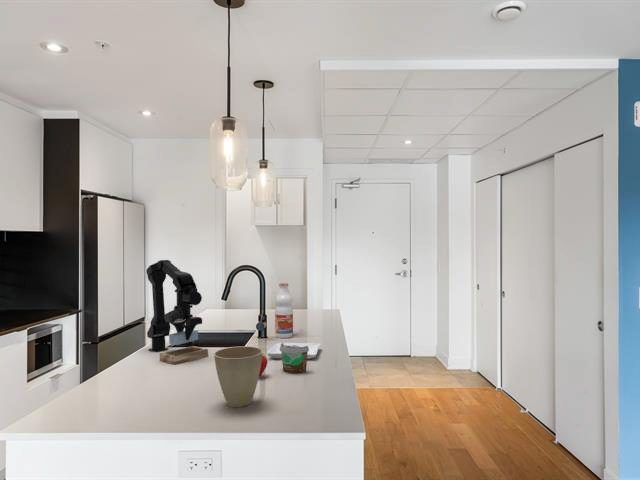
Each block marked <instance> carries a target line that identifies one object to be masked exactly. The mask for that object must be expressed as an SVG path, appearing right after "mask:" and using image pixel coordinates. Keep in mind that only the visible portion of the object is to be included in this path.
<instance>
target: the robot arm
mask: <svg viewBox="0 0 640 480" xmlns="http://www.w3.org/2000/svg"><path fill="white" fill-rule="evenodd" d="M146 275H147V279H148V281H149V283H150V284H151V288H152V289H151V290H152V291H151V292H152V304H153V305H152V307H153V308H152V309H153V316H152V318H151V320H150V326H149V328H148V330H147V332H146V335H147V338H148V339H151V348H148V351H152V352H155V353H156V352H157V353H158V352H161V351H166V350H169V348H168V347H166V337H169V334H171V333H170V331H171V325H172V326H174V328H175V330H176V333H178V332H182V331H185V335H186V340H189V338H190V336H191V334H192V332H193V330H195V328H196V327H197V325H202V324H203V318H202V317H200V316H193V315H194V314H192V313H191V309H193V306H197V305H199V304H200V303H201V302H202V300H203V296H202V295H201V292H199V291H198V288H197V284H196V282H195V280H194V277H193V275H191V273H189V272H185V271H181V270H180V268H178V267H176V265H175V264H173V263H172V261H171V260H169V259H162V260H160V259H159V260H158V261H157V262H155V263H153V264H151V265H149V266H148V267H147V268H146ZM167 276H168V277H170V279H171V280H172V281H171V282H172V284H173V286H174V287H175V290H174V293H176V305H174V307H173V310H171V311H169V312H167V313H166V312H165V311H166V310H165V298H164V297H165V296H164V295H165V293H164V282H165V280H166V279H167Z"/></svg>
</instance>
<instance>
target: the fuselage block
mask: <svg viewBox="0 0 640 480" xmlns="http://www.w3.org/2000/svg"><path fill="white" fill-rule="evenodd" d="M198 340H199V330H198V329H197V330H195V329H194V330H193V332H192V334H191V336H190V338H189V340H186V335H185V330H184V331H182V332H178V333H177V332H174V333H169V336H168V341H169V345H174V346H179V345H182V344H186V343H189V342H190V343H191V342H195V341H198Z"/></svg>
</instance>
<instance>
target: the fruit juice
mask: <svg viewBox="0 0 640 480" xmlns="http://www.w3.org/2000/svg"><path fill="white" fill-rule="evenodd" d="M278 287H279V288H278V292H277V295H276V296H275V299H274V303H275V309H274V323H275V325H274V331H275V332H274V334H275V338H277V339H291V338H293V336H294V309H293V307H292V304H293V297H292V295H291V293H290V290H289V283H288V282H287V283H286V282H284V283H283V282H282V283H278Z"/></svg>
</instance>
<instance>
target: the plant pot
mask: <svg viewBox="0 0 640 480" xmlns="http://www.w3.org/2000/svg"><path fill="white" fill-rule="evenodd" d="M263 352H264V351H263V349H261V348H259V347H257V346H249V345H247V346H246V345H245V346H230V347H226V348H220V349H218V350H215V351H214V353H213V358H214V362H215V363H214V364H215V370H216V374H217V377H218V382H219V386H220V389H221V392H222V393H223V394H222V395H223V396H224V399H225V402H226V404H227V405H228V406H229V407H231V408H242V407H243V408H244V407H247V406H249V405H250V404H252V401H253V399H254V395H255V393H256V389H257V385H258V383H259V378H260V377H259V373H260V368H261V361H262V354H263Z"/></svg>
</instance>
